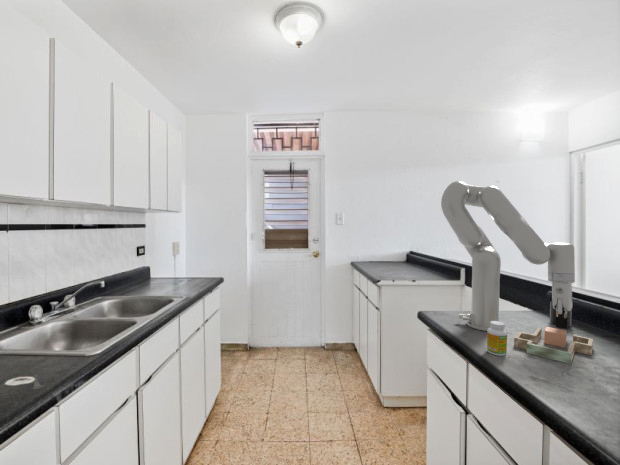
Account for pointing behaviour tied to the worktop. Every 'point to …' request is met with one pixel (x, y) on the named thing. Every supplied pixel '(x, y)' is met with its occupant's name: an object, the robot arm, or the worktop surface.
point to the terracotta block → (555, 337)
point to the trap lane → (531, 340)
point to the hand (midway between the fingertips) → (561, 327)
